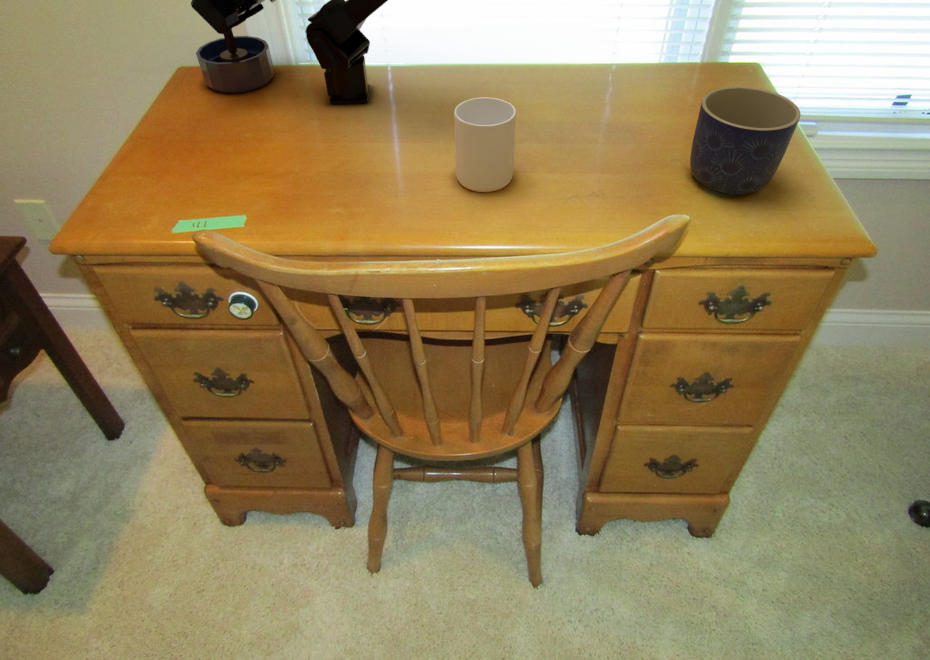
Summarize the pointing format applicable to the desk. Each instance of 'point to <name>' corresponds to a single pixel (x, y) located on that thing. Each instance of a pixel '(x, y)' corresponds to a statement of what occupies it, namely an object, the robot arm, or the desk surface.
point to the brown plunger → (232, 50)
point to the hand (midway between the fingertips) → (220, 29)
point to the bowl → (236, 65)
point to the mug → (484, 143)
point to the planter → (741, 138)
